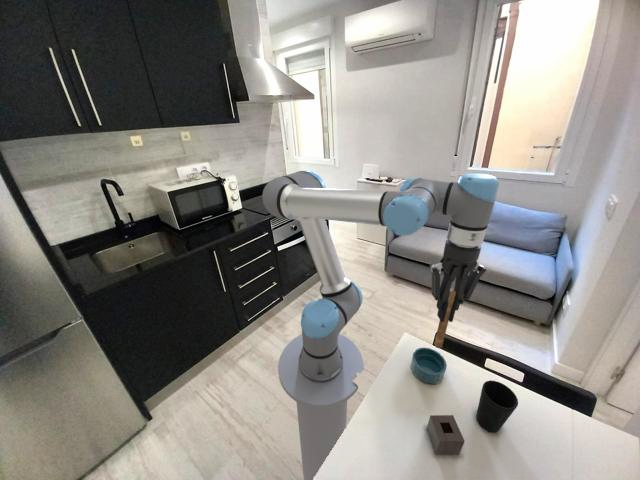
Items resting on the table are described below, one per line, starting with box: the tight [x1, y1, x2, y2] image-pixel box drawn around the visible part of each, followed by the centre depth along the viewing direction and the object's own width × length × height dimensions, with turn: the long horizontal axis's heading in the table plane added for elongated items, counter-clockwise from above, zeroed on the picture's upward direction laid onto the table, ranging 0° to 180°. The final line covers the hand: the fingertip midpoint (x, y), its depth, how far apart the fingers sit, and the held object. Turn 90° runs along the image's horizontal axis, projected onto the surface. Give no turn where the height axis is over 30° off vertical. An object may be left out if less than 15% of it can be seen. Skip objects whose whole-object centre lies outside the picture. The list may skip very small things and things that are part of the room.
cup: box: [475, 380, 519, 434], centre depth 68 cm, size 8×8×12 cm
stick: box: [433, 287, 456, 349], centre depth 71 cm, size 2×2×20 cm
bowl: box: [410, 347, 447, 385], centre depth 84 cm, size 10×10×5 cm
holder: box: [426, 414, 465, 456], centre depth 65 cm, size 6×6×6 cm
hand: (444, 318), depth 71 cm, fingers closed on stick, 2 cm apart
